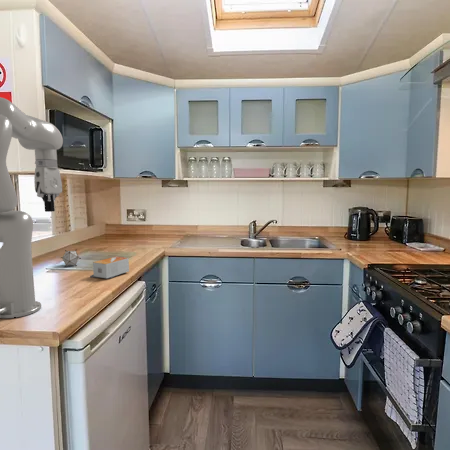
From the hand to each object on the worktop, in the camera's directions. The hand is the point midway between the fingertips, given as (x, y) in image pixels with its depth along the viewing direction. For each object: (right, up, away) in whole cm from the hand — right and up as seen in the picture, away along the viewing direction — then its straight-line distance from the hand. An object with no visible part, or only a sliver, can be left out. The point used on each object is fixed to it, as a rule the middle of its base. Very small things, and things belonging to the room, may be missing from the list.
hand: (49, 211), depth 133 cm
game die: (-6, -26, +31) cm, 41 cm away
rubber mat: (+18, -27, +15) cm, 36 cm away
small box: (+17, -25, +7) cm, 31 cm away
